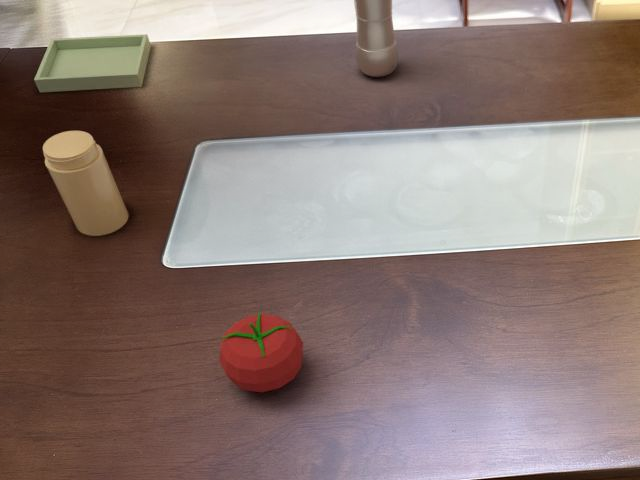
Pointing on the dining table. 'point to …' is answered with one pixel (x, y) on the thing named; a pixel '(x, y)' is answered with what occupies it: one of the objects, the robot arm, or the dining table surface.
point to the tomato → (261, 352)
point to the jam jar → (85, 182)
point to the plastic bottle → (375, 37)
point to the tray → (93, 63)
